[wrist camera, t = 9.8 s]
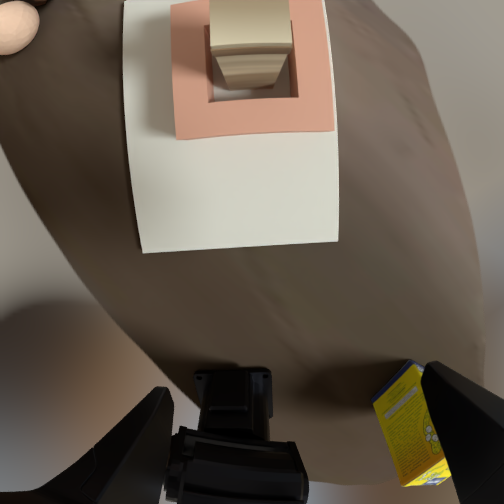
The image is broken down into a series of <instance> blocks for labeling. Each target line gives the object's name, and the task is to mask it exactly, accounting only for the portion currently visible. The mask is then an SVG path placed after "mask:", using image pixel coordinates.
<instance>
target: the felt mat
mask: <svg viewBox="0 0 504 504" xmlns="http://www.w3.org/2000/svg"><path fill="white" fill-rule="evenodd" d="M190 1H196V0H128V1H124V20H123V88H124V108H125V123H126V136H127V147H128V157H129V166H130V174H131V182H132V190H133V197H134V204H135V211H136V217H137V223H138V229H139V235H140V240H141V246H142V251H143V253H154V252H169V251H185V250H200V249H216V248H232V247H249V246H265V245H282V244H299V243H316V242H333V241H338V224H339V167H338V135H337V116H336V100H335V87H334V75H333V65H332V55H331V46H330V38H329V30H328V23H327V15H326V9H325V2H324V0H322V6H323V12H324V19H325V27H326V34H327V43H328V51H329V61H330V71H331V82H332V95H333V110H334V127H335V131H330V132H298V133H268V134H250V135H236V136H223V137H213V138H203V139H194V140H176V130H175V116H174V101H173V84H172V62H171V19H170V5H173V4H178V3H184V2H190ZM212 70H213V86H214V101H215V102H221V101H232V100H245V99H263V98H291V95H290V81H289V69H288V57H287V56H286V59H285V61H284V63H283V66H282V68H281V70H280V73H279V75H278V77H277V80H276V82H275V85H274V87H273V89H256V90H235V91H230V89H229V87H228V85H227V82H226V80H225V78H224V75H223V73H222V71H221V68H220V66H219V64H218V62H217V59H216V57H213V55H212Z"/></svg>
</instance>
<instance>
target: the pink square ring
mask: <svg viewBox="0 0 504 504" xmlns="http://www.w3.org/2000/svg"><path fill="white" fill-rule="evenodd" d="M289 10H290V21H291V32H292V50H291V52H290V54H287V57H288V69H289V81H290V95H291V98H263V99H245V100H232V101H221V102H215V101H214V86H213V70H212V53H211V49H210V10H209V0H196V1H190V2H184V3H178V4H173V5H170V19H171V62H172V84H173V101H174V116H175V130H176V140H194V139H203V138H213V137H223V136H236V135H250V134H268V133H298V132H330V131H335V127H334V110H333V95H332V82H331V71H330V61H329V51H328V43H327V34H326V27H325V19H324V12H323V6H322V0H289Z"/></svg>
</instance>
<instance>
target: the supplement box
mask: <svg viewBox="0 0 504 504" xmlns="http://www.w3.org/2000/svg"><path fill="white" fill-rule="evenodd" d="M424 368H425V367H423V366H421V365H420V364H418V363H416V362H414V361H412V360H408V361H407V363H406V364H405V365H404V366H403V367H402V368H401V369H400V370H399V372H398V373H397V374H396V375H395V376H394V377H393V378H392V379H391V380H390V381H389V382H388V383H387V384H386V385H385V386H384V387H383V388H382V389H381V390H380V391H379V392H378V393H377V394H376V395H375V396H374V397H373V398H372V399H371V401H372V404H373V407H374V409H375V412H376V415H377V417H378V420H379V422H380V425H381V428H382V431H383V433H384V436H385V439H386V442H387V445H388V447H389V450H390V453H391V456H392V459H393V462H394V465H395V468H396V471H397V474H398V477H399V480H400V483H401V486H411V485H438V484H440V483H441V482H442V481H444V480H445V479H447V478H448V477H449V476H451V473H450V470H449V467H448V464H447V461H446V459H445V456H444V453H443V450H442V447H441V445H440V442H439V439H438V437H437V434H436V431H435V429H434V426H433V424H432V421H431V418H430V415H429V412H428V408H427V405H426V401H425V398H424V394H423V391H422V387H421V383H420V381H421V377H422V374H423V371H424Z"/></svg>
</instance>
